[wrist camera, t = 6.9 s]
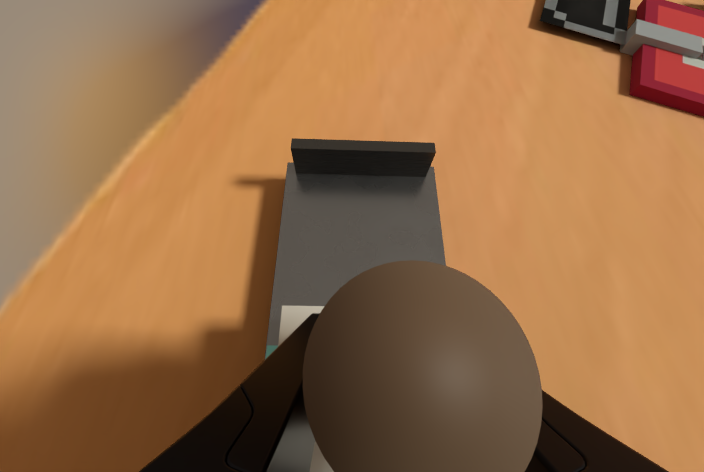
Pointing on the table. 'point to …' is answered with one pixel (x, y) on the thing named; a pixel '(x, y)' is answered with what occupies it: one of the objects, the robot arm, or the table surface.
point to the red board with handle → (646, 44)
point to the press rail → (351, 217)
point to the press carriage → (417, 375)
